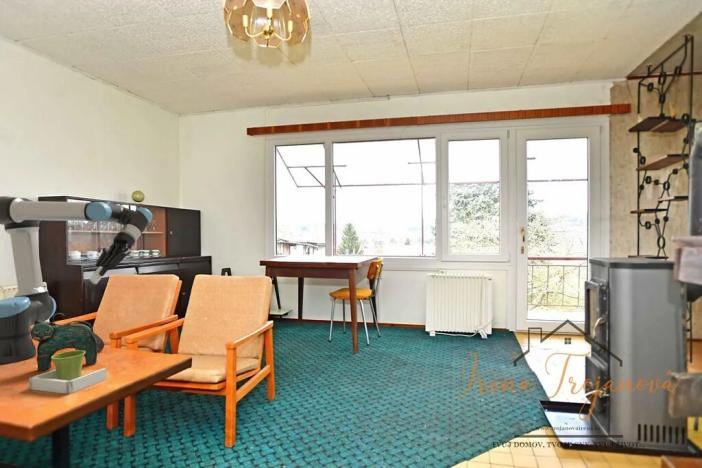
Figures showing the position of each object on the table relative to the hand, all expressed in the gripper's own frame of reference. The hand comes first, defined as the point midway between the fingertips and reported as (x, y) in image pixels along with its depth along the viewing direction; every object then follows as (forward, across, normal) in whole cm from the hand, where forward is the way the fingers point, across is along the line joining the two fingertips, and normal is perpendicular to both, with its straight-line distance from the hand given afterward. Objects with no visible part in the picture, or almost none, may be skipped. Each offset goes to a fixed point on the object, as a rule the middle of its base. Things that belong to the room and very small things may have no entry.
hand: (92, 281), depth 160 cm
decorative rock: (+16, +13, -27) cm, 34 cm away
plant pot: (+36, -12, -7) cm, 38 cm away
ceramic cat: (+28, +3, -15) cm, 32 cm away
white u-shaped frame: (+37, -15, -6) cm, 40 cm away
